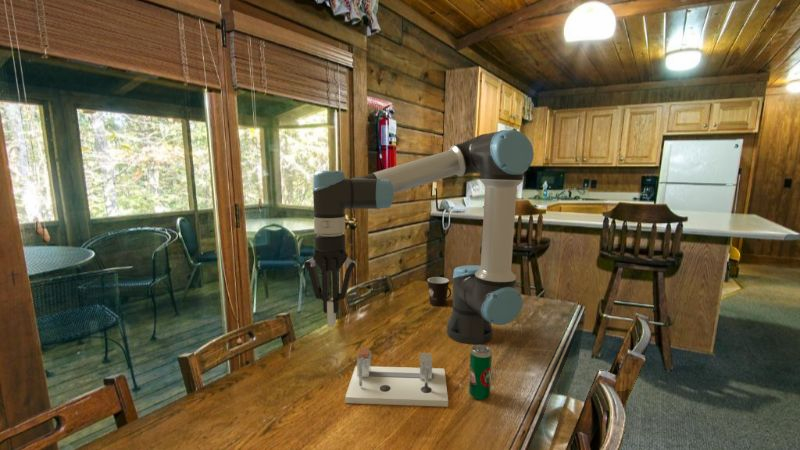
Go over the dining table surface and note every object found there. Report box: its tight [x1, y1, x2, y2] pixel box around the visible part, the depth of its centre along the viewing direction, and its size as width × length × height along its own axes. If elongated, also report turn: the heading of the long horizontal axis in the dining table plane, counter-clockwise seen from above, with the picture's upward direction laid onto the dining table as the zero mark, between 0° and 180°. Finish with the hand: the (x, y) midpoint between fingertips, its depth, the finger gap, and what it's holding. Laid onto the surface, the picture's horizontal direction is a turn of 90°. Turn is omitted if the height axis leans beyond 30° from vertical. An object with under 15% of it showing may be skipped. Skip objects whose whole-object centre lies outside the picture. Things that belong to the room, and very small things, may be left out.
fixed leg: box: [419, 352, 433, 389], centre depth 93 cm, size 3×8×6 cm, turn 177°
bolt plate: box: [344, 365, 449, 408], centre depth 93 cm, size 24×14×2 cm, turn 87°
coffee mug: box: [427, 276, 452, 308], centre depth 149 cm, size 12×9×10 cm
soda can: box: [468, 344, 493, 401], centre depth 89 cm, size 5×5×12 cm
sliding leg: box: [356, 348, 372, 386], centre depth 94 cm, size 3×8×6 cm, turn 177°
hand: (331, 324), depth 95 cm, fingers closed
